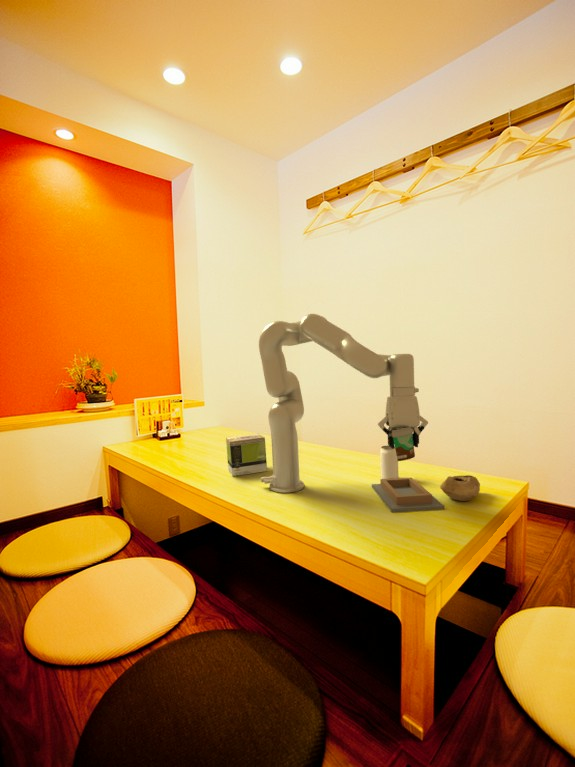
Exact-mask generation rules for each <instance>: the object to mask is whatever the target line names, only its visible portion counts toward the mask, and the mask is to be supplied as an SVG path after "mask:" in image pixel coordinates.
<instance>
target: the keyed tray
mask: <svg viewBox="0 0 575 767" xmlns="http://www.w3.org/2000/svg"><path fill="white" fill-rule="evenodd" d="M371 489H373V491H374V492H375V493H376V495H377V496H378V497H379V498H380V499H381V501H382V502H383V503H384V505H385V506H386V507H387V509H388V510H389V511H390V512H391V513H398V512H403V513H404V512H415V511H417V512H419V511H431V510H432V511H433V510H445V504H443V503H442V502H441V501H439V500H438V499H437V498H436V497H435V496H433V494H432V493H431V492H430V491H429V490H427V489H426V488H425V487H423V485H421V484H420V483H419V482H417V481H416V480H415V479H414V478H413V477H398V478H394V479H382V478H381V479H380V483H373V484H371Z"/></svg>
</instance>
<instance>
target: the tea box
mask: <svg viewBox="0 0 575 767" xmlns="http://www.w3.org/2000/svg"><path fill="white" fill-rule="evenodd" d="M225 444H226V455H227V468H228V471H229V473H230V475H231V474H232V475H231V476H232V477H236V476H237V475H238V476H243V475H250V474H255V473H262V472H263V473H264V472H268V464H267V463H268V461H267V453H266V452H267V450H266V449H267V448H266V438H265V437H264V436H263V435H262V434H260V433H254V434H253V433H252V434H245V435H238V436H237V435H236V436H228V437H226V438H225Z"/></svg>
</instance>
